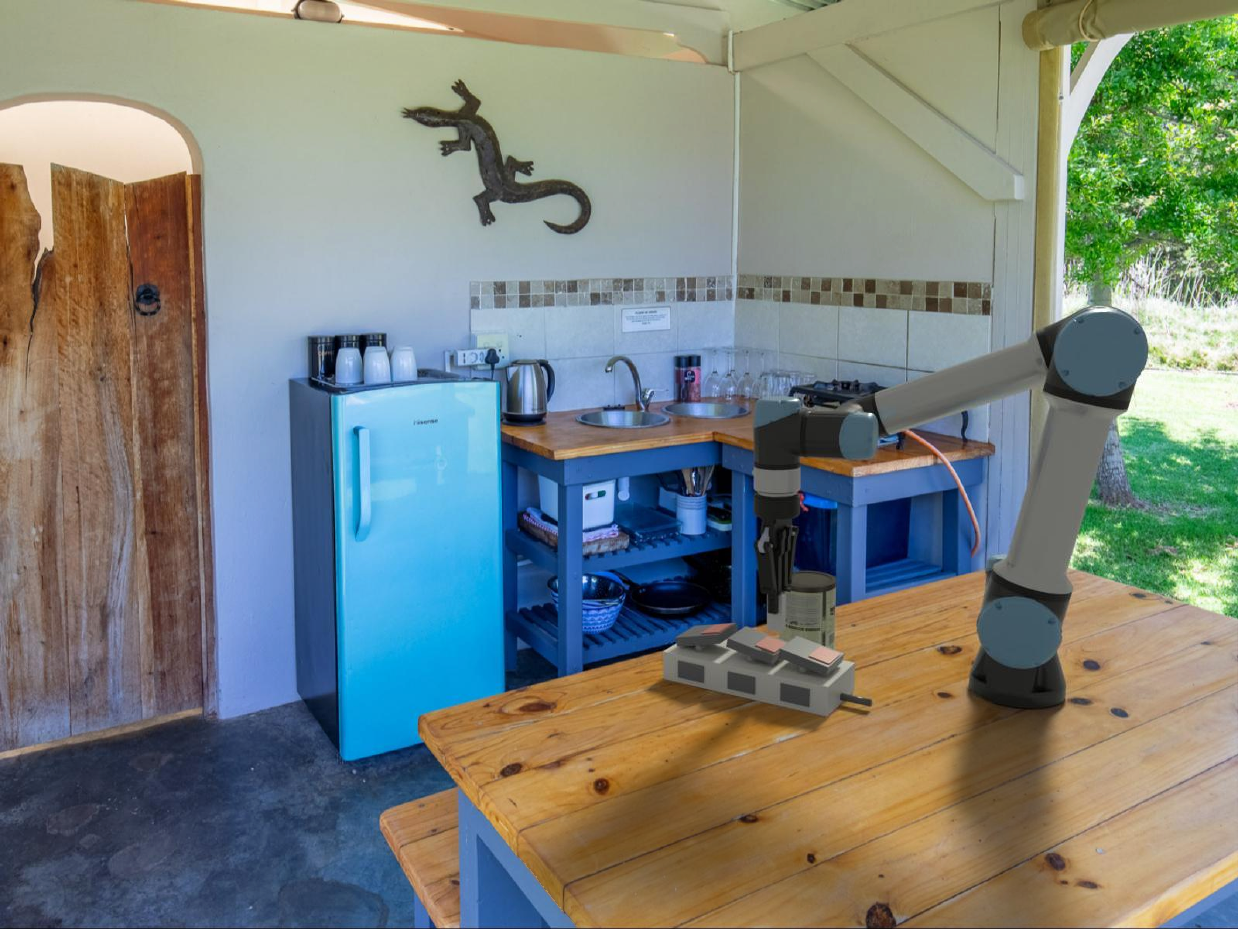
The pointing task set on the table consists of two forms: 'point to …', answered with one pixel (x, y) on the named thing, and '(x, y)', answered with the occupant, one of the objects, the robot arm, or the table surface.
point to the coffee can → (811, 608)
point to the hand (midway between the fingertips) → (776, 630)
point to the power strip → (761, 678)
